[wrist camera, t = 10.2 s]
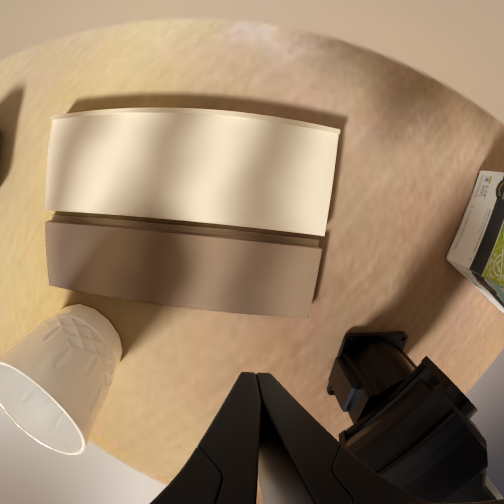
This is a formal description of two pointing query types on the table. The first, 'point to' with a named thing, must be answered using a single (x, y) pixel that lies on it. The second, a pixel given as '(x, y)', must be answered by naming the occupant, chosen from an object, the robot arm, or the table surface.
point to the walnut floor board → (183, 265)
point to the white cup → (60, 377)
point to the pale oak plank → (193, 167)
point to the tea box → (483, 238)
